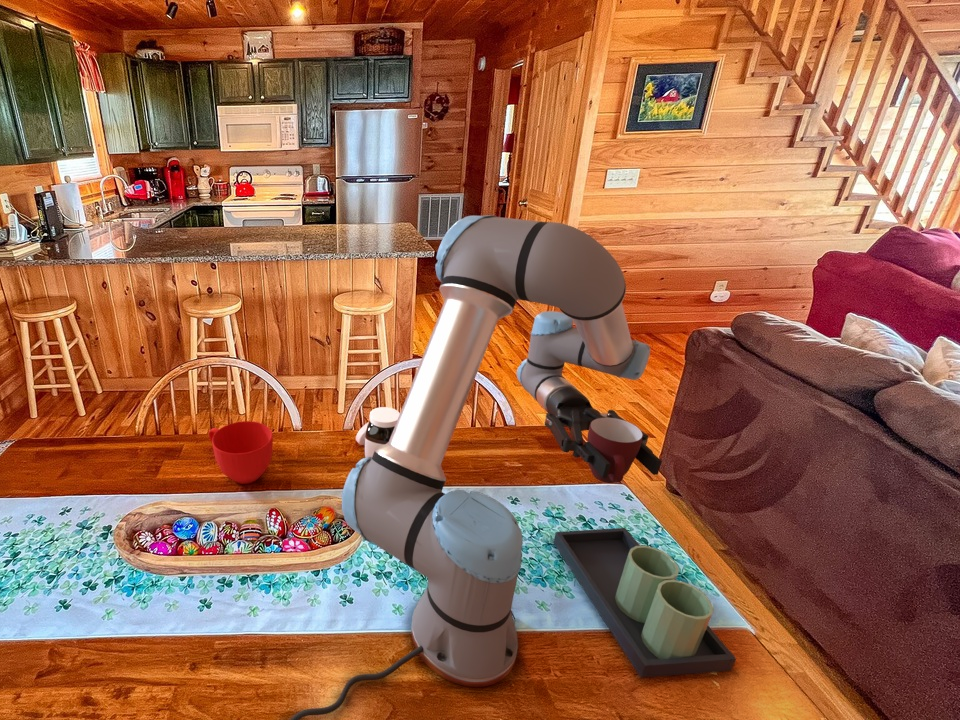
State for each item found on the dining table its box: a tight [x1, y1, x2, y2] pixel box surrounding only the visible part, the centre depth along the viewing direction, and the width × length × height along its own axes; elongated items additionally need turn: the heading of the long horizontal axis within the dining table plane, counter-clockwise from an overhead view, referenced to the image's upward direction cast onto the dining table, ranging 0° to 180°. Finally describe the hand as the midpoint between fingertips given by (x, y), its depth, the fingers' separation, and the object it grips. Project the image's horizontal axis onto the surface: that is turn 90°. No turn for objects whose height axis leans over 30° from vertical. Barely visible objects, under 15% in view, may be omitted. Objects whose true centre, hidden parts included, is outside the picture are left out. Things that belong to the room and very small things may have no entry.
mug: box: [586, 418, 643, 484], centre depth 89 cm, size 11×8×10 cm
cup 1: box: [615, 545, 680, 623], centre depth 78 cm, size 6×6×10 cm
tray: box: [553, 527, 737, 679], centre depth 81 cm, size 13×25×3 cm, turn 3°
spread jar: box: [355, 406, 400, 458], centre depth 117 cm, size 12×11×12 cm
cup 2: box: [641, 579, 714, 659], centre depth 72 cm, size 6×6×10 cm
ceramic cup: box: [208, 420, 274, 485], centre depth 112 cm, size 13×17×10 cm
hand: (632, 469), depth 84 cm, fingers closed on mug, 8 cm apart
